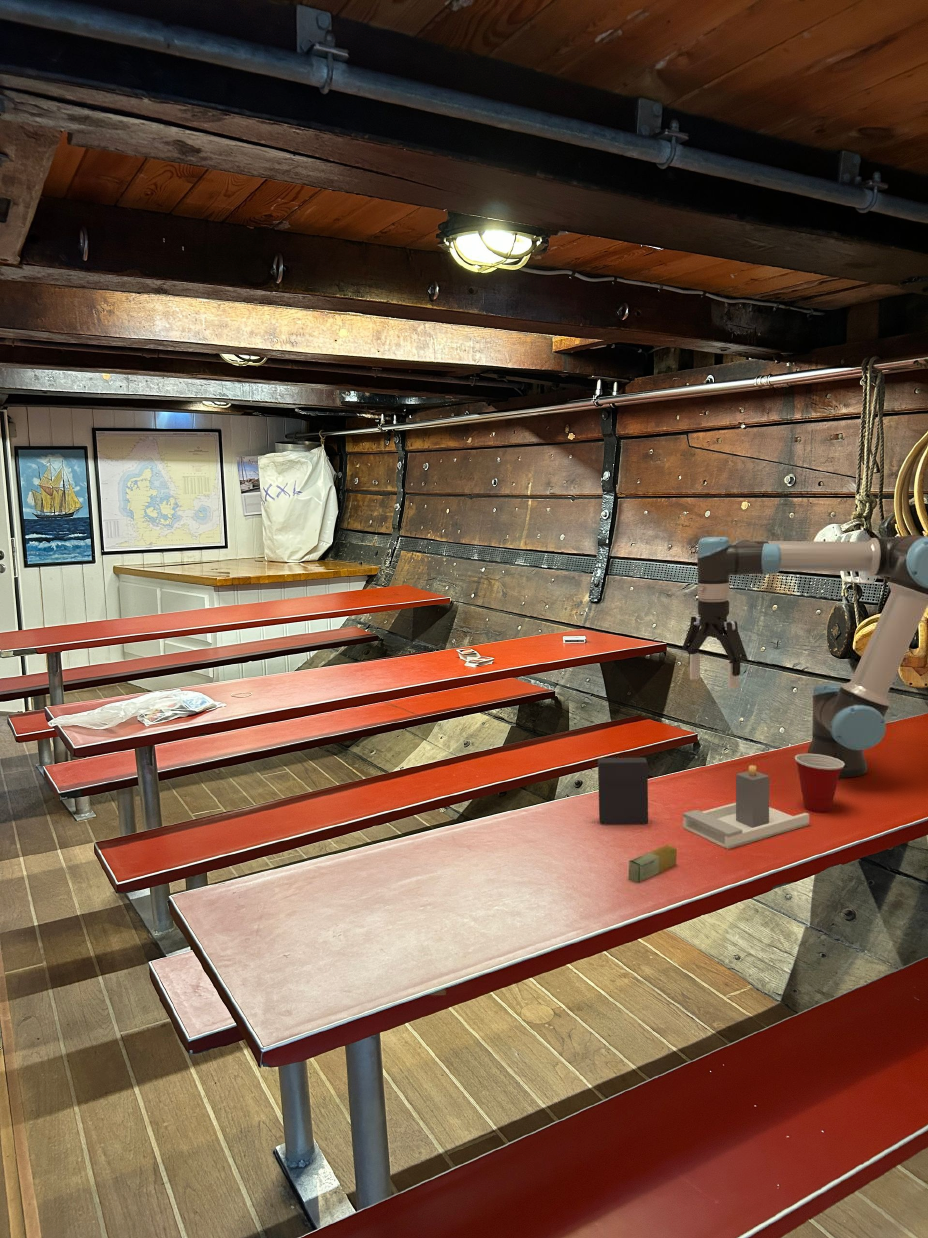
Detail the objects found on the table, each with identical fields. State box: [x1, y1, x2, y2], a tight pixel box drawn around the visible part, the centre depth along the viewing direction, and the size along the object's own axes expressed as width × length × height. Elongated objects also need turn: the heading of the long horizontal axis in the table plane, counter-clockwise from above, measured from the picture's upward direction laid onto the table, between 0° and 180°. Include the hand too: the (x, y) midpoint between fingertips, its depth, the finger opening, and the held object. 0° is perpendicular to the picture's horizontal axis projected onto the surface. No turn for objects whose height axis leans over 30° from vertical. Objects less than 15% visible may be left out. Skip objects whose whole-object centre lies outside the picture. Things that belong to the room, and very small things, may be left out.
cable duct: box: [682, 802, 810, 850], centre depth 192 cm, size 24×14×3 cm, turn 117°
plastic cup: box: [794, 753, 845, 813], centre depth 200 cm, size 11×11×12 cm
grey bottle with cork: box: [735, 764, 770, 828], centre depth 192 cm, size 5×5×13 cm
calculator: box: [597, 757, 649, 825], centre depth 197 cm, size 11×4×15 cm, turn 84°
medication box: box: [628, 844, 677, 883], centre depth 171 cm, size 12×3×4 cm, turn 128°
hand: (713, 683), depth 215 cm, fingers open, 13 cm apart
